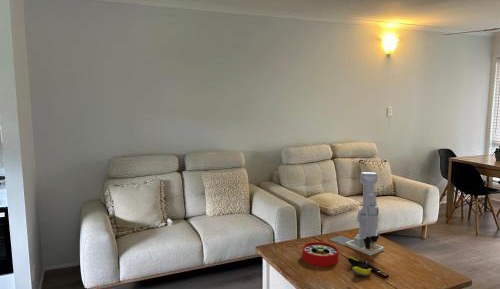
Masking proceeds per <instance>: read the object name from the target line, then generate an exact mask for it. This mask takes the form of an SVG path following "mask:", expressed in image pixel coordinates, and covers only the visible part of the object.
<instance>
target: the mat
mask: <svg viewBox="0 0 500 289" xmlns="http://www.w3.org/2000/svg"><path fill="white" fill-rule="evenodd" d="M351 240H353V239H352V238H349V237H346V236H344V235H339V236H334V237H331V238H328V241H331V242H334V243H336V244H338V245H340V246H346V242H348V241H351Z"/></svg>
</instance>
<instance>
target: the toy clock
mask: <svg viewBox="0 0 500 289" xmlns="http://www.w3.org/2000/svg"><path fill="white" fill-rule="evenodd" d="M339 254H340V253H339V247H337V246H335V245H334V244H331V243H327V242H321V241H313V242H308V243H305V244H304V245H303V246H302V255H301V256H302V257H301V258H302V260H303V261H304V262H306V263H307V264H310V265H313V266H317V267H330V266H335V265H336V264H337V263H338V262H339Z"/></svg>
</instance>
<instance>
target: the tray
mask: <svg viewBox="0 0 500 289" xmlns="http://www.w3.org/2000/svg"><path fill="white" fill-rule="evenodd" d="M345 246H346V247H348V248H350V249H353V250H356V251H358V252H361V253H363V254H366V255H367V256H370V257H371V256H373V255H376V254H379V253H381V252H383V251H385V247H384V246H381V245H379V244H377V243H376V250H373V251H367V250H365V245H364V246H363V247H358V246H355V245H354V239H352V240H351V241H348V242H346V245H345Z"/></svg>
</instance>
